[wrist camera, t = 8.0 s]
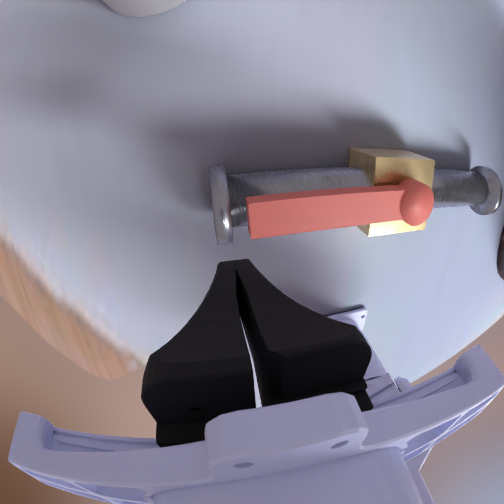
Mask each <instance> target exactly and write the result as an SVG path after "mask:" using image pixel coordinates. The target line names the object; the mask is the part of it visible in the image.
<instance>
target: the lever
mask: <svg viewBox="0 0 504 504" xmlns="http://www.w3.org/2000/svg"><path fill="white" fill-rule="evenodd" d="M433 205H434V195H433V192H432V190H431V188H430V187H429V186H428V185H426V184H424V183H422V182H419V181H417V180H415V179H413V178H407V179H405V180H403V181H401V182H400V183H399V184H398V185H386V186H366V187H350V188H335V189H322V190H310V191H299V192H289V193H279V194H269V195H261V196H252V197H246V208H247V219H248V230H249V234H250V236H251V239H257V238H265V237H272V236H279V235H287V234H295V233H302V232H310V231H317V230H325V229H333V228H341V227H349V226H357V225H365V224H373V223H382V222H390V221H398V220H403V221H404V222H406V223H407V224H409V225H411V226H418V225H420V224H422V223H423V222H424V221H426V219H427V218H428V217H429V215H430V214H431V211H432V209H433Z"/></svg>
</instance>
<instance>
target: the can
mask: <svg viewBox="0 0 504 504" xmlns="http://www.w3.org/2000/svg"><path fill="white" fill-rule="evenodd" d="M102 1H103V2H104V3H105V4H107V5H108V6H109V7H110V8H111V9H112V10H113V11H114V12H116V13H119V14H122V15H124V16H127V17H146V16H151V15H157V14H161V13H163V12H166V11H168V10H171V9H173V8H176V7H177V6H179V5H180V4H182V3H183V2H185V1H186V0H102Z"/></svg>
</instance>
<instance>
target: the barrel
mask: <svg viewBox="0 0 504 504" xmlns="http://www.w3.org/2000/svg"><path fill="white" fill-rule="evenodd" d="M497 270H498V274H499V275H500V277H501V278H502V279H503V280H504V227H503V231H502V234H501V239H500V244H499V248H498V256H497Z"/></svg>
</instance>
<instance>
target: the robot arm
mask: <svg viewBox="0 0 504 504" xmlns="http://www.w3.org/2000/svg"><path fill="white" fill-rule="evenodd" d="M366 316H367V310H366V308H362V309H357V310H353V311H349V312H344V313H340V314H335V315H330V316H323V315H321V314H318V313H316V312H314V311H312V310H310V309H308V308H306V307H304V306H302V305H300V304H298V303H297V302H295V301H293V300H292V299H290V298H289V297H287V296H286V295H284V294H283V293H282V292H281V291H279V290H278V289H277V288H276V287H275V286H273V285H272V284H271V283H270V282H269V281H268V280H267V279H266V278H265V277H264V276H263V275H262V274H261V273H260V272H259V271H258V270H257V269H256V267H255V266H254V265H253V264H252V263H251V261H250V260H248V259H242V260H233V261H225V262H220V263H219V264H218V266H217V271H216V274H215V277H214V280H213V282H212V284H211V286H210V289H209V291H208V293H207V294H206V296H205V298H204V300H203V302H202V303H201V305H200V307H199V308H198V310H197V311H196V312H195V314H194V315H193V316H192V318H191V319H190V320H189V321H188V323H187V324H186V325H185V326H184V327H183V328H182V329H181V330H180V331H179V332H178V333H177V334H176V335H175V336H174V337H173V338H172V339H171V340H170V341H169V342H168V343H166V344H165V345H164V346H162V347H161V348H160V349H158V350H157V351H156V352H154V353H153V354H151V355H150V357H149V359H148V362H147V365H146V369H145V372H144V376H143V384H142V394H141V399H142V401H143V403H144V405H145V407H146V408H147V409H148V411H149V412H150V414H151V415H152V416H153V418H154V419H155V420H156V422H157V426H156V427H157V428H156V438H132V437H118V436H108V435H99V434H91V433H84V432H78V431H72V430H66V429H61V428H56V427H54V426H53V425H52V424H51V423H50V422H49V421H48V420H47V419H45V418H43V417H42V416H39V415H36V414H31V413H28V412H24V411H21V412H20V415H19V418H18V422H17V425H16V429H15V432H14V436H13V440H12V444H11V448H10V453H9V457H8V460H9V462H10V463H12V464H13V465H15V466H16V467H18V468H19V469H21V470H22V471H24V472H26V473H27V474H29V475H31V476H33V477H34V478H36V479H37V480H39V481H41V482H43V483H45V484H47V485H49V486H52V487H55V488H58V489H61V490H64V491H68V492H71V493H74V494H77V495H81V496H84V497H88V498H91V499H95V500H99V501H103V502H108V503H112V504H435V502H434V500H433V498H432V496H431V494H430V491H429V489H428V487H427V485H426V483H425V481H424V479H423V476H422V475H421V472H420V468H421V466H422V465H423V463H424V461H425V460H426V458H427V456H428V454H429V452H430V451H431V449H432V447H433V446H434V445H435V444H437V443H438V442H440V441H441V440H443V439H444V438H446V437H448V436H449V435H451V434H452V433H453V432H455V431H456V430H458V429H459V428H460V427H462V426H463V425H465V424H466V423H468V422H469V421H470V420H471V419H473V418H474V417H476V416H477V415H478V414H479V413H480V412H481V411H482V410H483V409H484V408H485V407H486V406H487V405H488V404H489V403H490V402H491V401H492V400H493V398H494V397H495V396H496V395H497V394H498V393H499V392H500V390H501V389H502V388H503V387H504V375H503V374H502V373H501V371H500V370H499V369H498V367H497V366H496V365H495V363H494V362H493V361H492V360H491V358H490V357H489V356H488V355H487V353H486V352H485V351H484V350H483V348H482V347H481V346H480V345H476V346H474V347H473V348H471V349H469V350H467V351H466V352H464V353H463V354H462V355H461V356H460V357H459V358H458V360H457V361H456V363H455V365H454V367H452V368H450V369H449V370H447V371H445V372H443V373H441V374H439V375H437V376H435V377H433V378H431V379H429V380H426V381H424V382H422V383H420V384H418V385H416V386H413V387H412V386H411V384H410V383H409V381H408V380H407V379H406V378H401V377H397V378H396V379H394V381H395V383H396V384H397V386H398V389H399V391H400V392H399V391H398V389H397V387H396V385H395V384H394V382H393V380H392V379H391V377H390V375H389V373H387V372H386V370H385V369H384V367H383V365H382V364H381V362H380V360H379V359H378V357H377V355H376V353H375V352H374V350H373V348H372V347H371V345H370V344H369V342H368V340H367V339H366V337H365V335H364V334H363V332H362V331H363V327H364V323H365V320H366ZM240 317H241V319H240ZM241 320H242V324H243V327H244V330H245V334H246V337H247V341H248V344H249V347H250V350H251V354H252V358H253V362H254V367H255V372H256V377H257V382H258V388H259V393H260V398H261V404H262V407H259V408H256V403H255V391H254V378H253V369H252V364H251V359H250V354H249V351H248V348H247V344H246V340H245V336H244V332H243V328H242V324H241Z"/></svg>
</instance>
